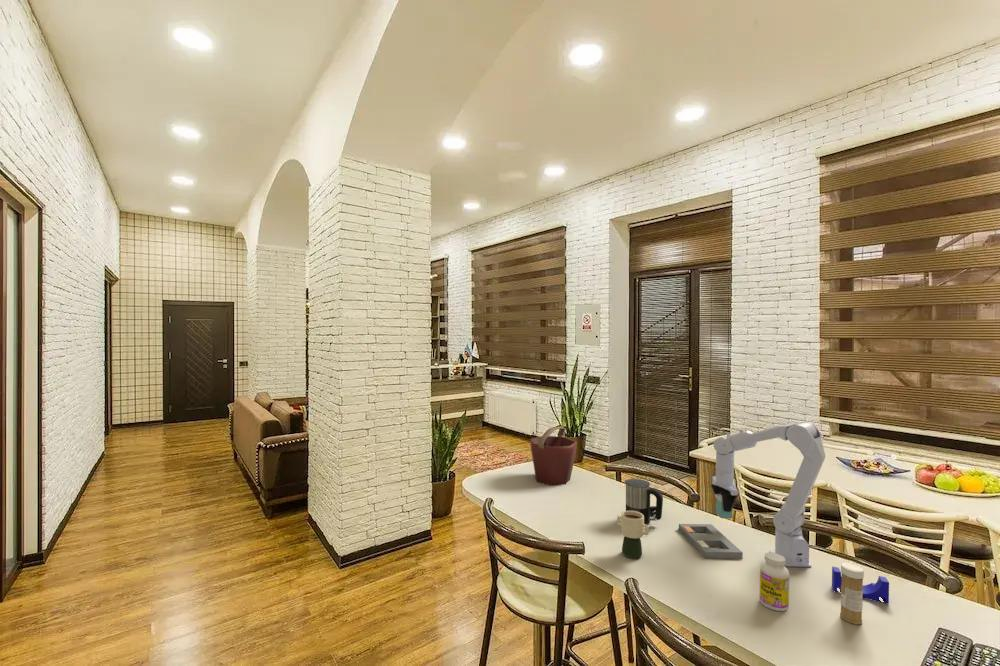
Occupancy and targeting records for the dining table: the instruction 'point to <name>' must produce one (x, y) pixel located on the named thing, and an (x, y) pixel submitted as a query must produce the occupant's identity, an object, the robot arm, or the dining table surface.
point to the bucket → (553, 457)
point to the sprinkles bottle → (852, 593)
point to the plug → (720, 510)
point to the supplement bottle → (774, 582)
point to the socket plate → (710, 541)
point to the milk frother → (643, 499)
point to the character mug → (632, 532)
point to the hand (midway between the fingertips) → (723, 508)
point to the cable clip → (865, 586)
